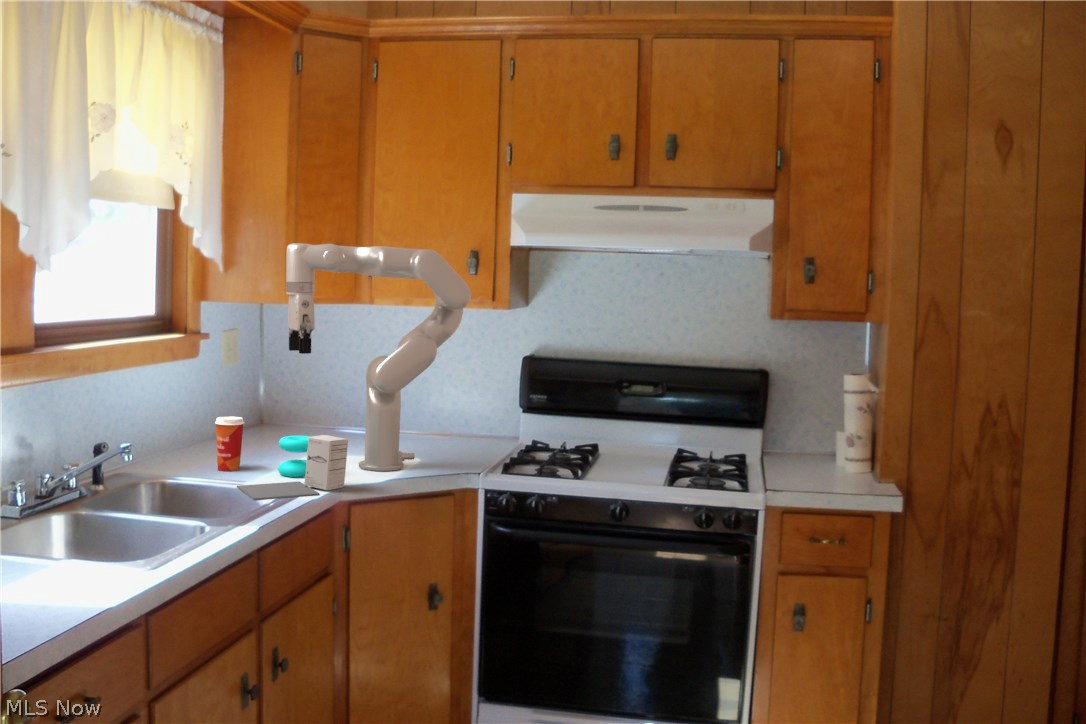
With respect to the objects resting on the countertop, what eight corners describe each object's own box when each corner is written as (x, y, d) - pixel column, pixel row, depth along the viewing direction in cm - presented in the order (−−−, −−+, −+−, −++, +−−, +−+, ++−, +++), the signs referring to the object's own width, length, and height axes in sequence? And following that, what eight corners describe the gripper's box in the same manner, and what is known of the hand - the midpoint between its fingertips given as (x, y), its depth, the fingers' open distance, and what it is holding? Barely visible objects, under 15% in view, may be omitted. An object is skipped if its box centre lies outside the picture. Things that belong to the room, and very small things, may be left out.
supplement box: (303, 486, 249) (307, 436, 249) (322, 482, 256) (326, 434, 255) (326, 491, 246) (330, 440, 245) (345, 487, 252) (349, 438, 252)
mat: (299, 482, 255) (299, 481, 255) (319, 494, 242) (319, 493, 242) (236, 487, 246) (236, 485, 246) (253, 500, 234) (254, 498, 234)
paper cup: (209, 468, 268) (210, 416, 267) (236, 465, 273) (237, 415, 272) (220, 473, 262) (221, 420, 261) (248, 470, 267) (249, 419, 266)
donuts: (310, 433, 271) (322, 439, 263) (309, 469, 272) (321, 476, 264) (274, 435, 266) (285, 441, 258) (273, 472, 267) (284, 479, 259)
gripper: (323, 290, 263) (322, 354, 265) (304, 288, 278) (304, 349, 280) (295, 289, 260) (295, 354, 261) (278, 288, 275) (277, 349, 276)
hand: (299, 351), depth 271 cm, fingers open, 9 cm apart
